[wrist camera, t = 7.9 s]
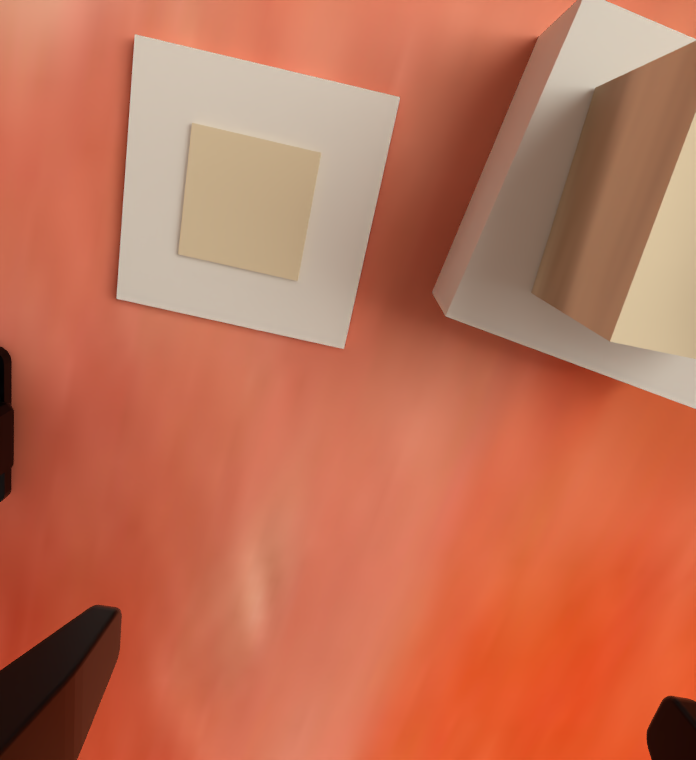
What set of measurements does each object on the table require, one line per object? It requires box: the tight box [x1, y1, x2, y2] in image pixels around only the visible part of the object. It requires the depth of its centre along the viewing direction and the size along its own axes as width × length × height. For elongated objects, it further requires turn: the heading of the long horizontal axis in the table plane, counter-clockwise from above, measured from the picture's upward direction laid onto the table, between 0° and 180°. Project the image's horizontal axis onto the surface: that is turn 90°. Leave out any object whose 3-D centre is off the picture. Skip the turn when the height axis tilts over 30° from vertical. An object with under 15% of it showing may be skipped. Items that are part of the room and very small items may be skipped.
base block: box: [432, 0, 696, 409], centre depth 16 cm, size 8×8×4 cm
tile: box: [116, 34, 400, 349], centre depth 17 cm, size 8×8×1 cm
